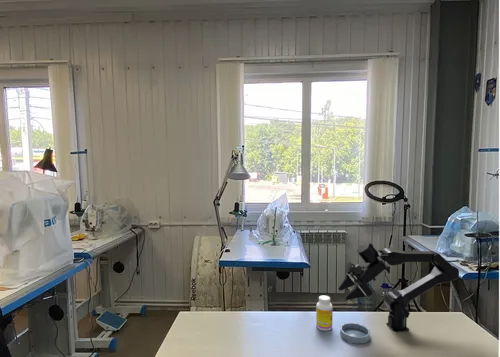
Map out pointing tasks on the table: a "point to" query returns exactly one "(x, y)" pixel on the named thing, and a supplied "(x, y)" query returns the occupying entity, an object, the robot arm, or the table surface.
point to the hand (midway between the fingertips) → (342, 294)
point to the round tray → (355, 333)
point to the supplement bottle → (324, 313)
